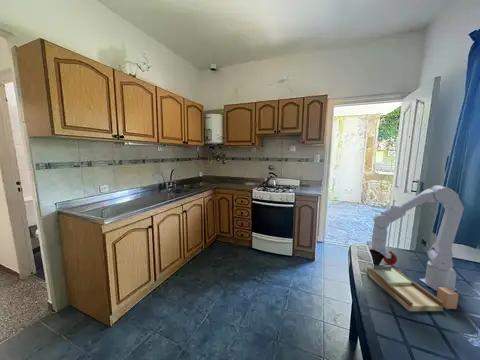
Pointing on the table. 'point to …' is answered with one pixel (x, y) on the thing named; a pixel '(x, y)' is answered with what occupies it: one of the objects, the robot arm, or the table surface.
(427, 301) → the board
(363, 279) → the table surface
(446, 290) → the block
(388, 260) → the onion
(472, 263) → the table surface
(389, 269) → the lid
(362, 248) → the table surface
